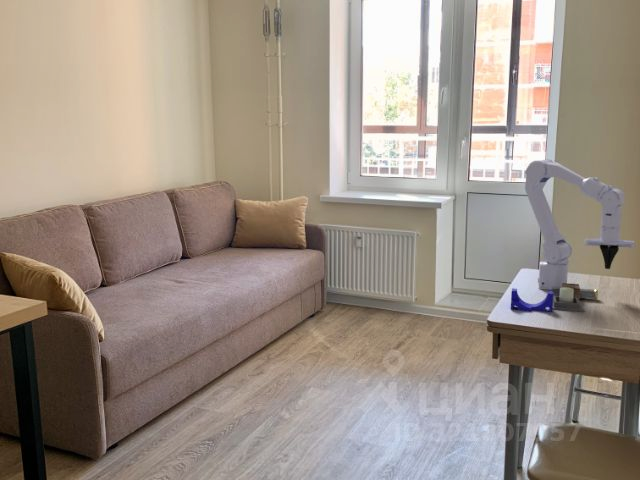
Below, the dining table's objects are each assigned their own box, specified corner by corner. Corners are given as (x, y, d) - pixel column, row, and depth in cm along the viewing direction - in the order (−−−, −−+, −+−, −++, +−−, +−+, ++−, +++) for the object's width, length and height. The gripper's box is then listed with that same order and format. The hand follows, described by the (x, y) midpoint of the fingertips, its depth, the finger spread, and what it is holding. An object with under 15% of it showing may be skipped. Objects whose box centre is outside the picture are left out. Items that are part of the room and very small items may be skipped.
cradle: (549, 309, 205) (549, 302, 204) (548, 300, 214) (548, 294, 214) (584, 311, 202) (584, 305, 201) (581, 302, 211) (582, 296, 211)
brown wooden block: (562, 300, 214) (563, 287, 214) (561, 294, 220) (562, 283, 220) (579, 301, 213) (580, 289, 212) (577, 295, 219) (578, 284, 218)
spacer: (559, 306, 206) (560, 290, 205) (558, 302, 210) (559, 287, 209) (573, 306, 205) (574, 291, 204) (571, 303, 209) (572, 287, 208)
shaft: (551, 297, 217) (552, 288, 216) (551, 294, 220) (551, 285, 219) (597, 300, 213) (598, 291, 212) (596, 297, 216) (597, 288, 215)
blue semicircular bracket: (510, 311, 204) (511, 292, 203) (511, 307, 208) (511, 288, 207) (552, 314, 200) (553, 295, 199) (551, 310, 204) (553, 291, 203)
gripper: (587, 227, 212) (584, 269, 215) (637, 229, 208) (633, 272, 211) (585, 224, 219) (582, 264, 221) (633, 226, 215) (630, 267, 217)
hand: (607, 268), depth 217 cm, fingers closed
